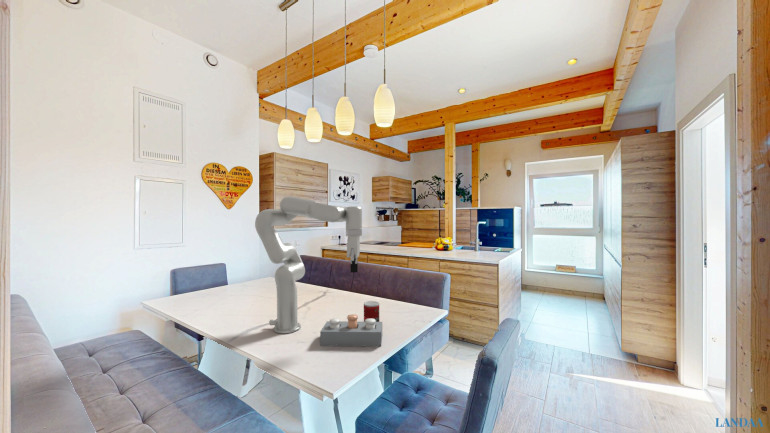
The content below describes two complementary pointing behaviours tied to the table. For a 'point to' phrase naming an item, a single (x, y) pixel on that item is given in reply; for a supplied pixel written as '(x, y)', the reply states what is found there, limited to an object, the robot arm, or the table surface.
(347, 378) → the table surface
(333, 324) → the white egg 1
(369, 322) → the grey plug
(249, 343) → the table surface
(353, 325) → the plug terracotta
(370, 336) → the socket board
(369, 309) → the canned food
